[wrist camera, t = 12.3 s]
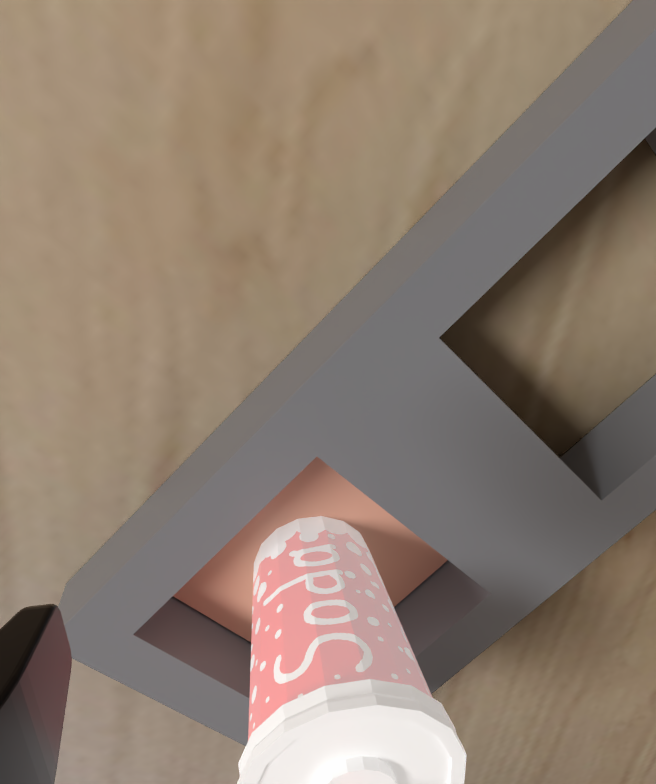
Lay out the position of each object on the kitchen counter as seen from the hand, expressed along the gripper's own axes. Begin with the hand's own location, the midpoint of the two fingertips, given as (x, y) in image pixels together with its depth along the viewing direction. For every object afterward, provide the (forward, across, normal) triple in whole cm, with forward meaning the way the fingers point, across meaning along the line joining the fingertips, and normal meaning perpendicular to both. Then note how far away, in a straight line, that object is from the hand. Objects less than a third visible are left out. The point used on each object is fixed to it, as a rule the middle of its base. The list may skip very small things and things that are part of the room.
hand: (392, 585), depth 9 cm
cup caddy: (+13, -5, +5) cm, 15 cm away
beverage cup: (+13, 0, +10) cm, 16 cm away
